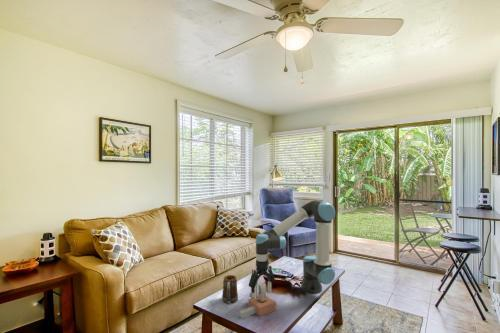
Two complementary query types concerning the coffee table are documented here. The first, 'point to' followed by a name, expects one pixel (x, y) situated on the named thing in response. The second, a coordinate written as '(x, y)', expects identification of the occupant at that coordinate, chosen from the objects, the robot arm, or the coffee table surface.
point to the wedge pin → (262, 293)
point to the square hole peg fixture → (258, 306)
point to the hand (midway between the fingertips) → (261, 294)
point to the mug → (230, 289)
